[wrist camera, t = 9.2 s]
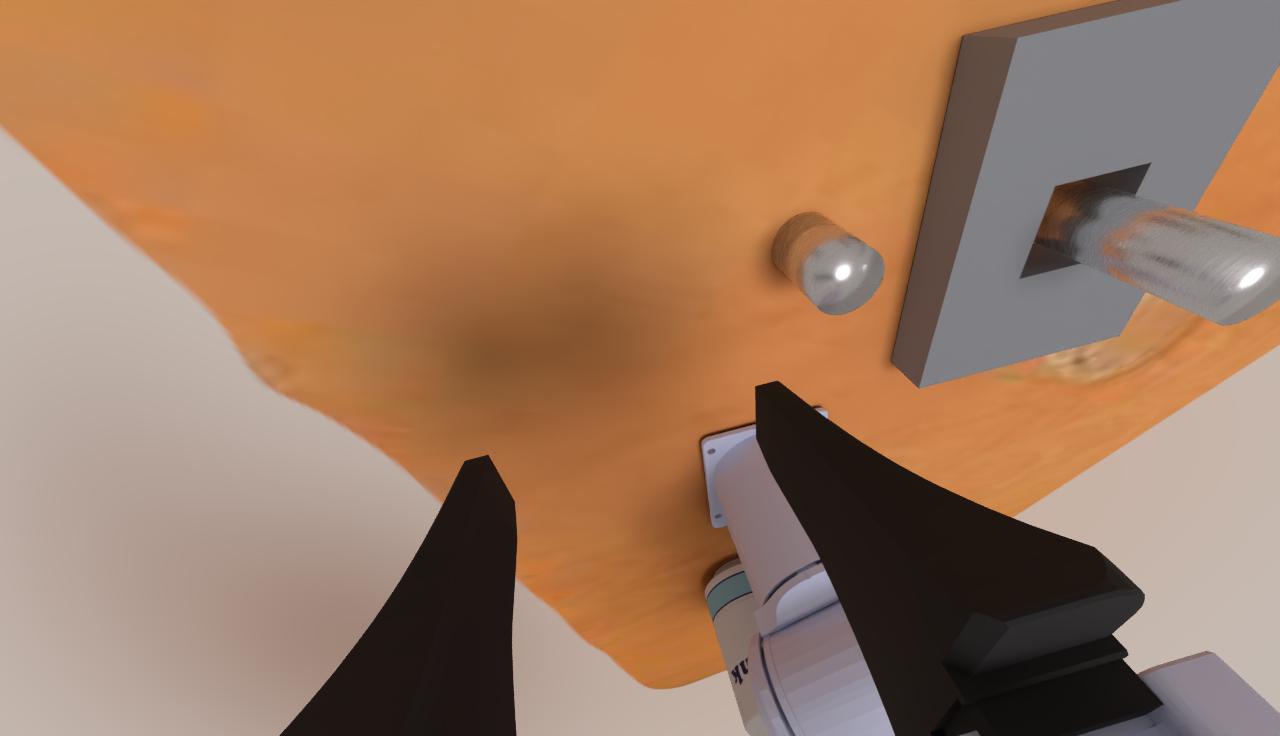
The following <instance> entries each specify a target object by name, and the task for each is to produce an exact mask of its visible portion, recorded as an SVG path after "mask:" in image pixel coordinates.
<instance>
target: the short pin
mask: <svg viewBox="0 0 1280 736" xmlns="http://www.w3.org/2000/svg"><path fill="white" fill-rule="evenodd" d="M772 258H773V261H774V263H775V265H776V266H777V267H778V268H779V269H780V270H781V271H782V272H783V273H784V274H785V275H786V276H787V277H788V278H789V279H790V280H791V281H792V282H793V283H794V284H795V285H796V286H797V287H798V288H799V290H800V291H801V292H802V293H803V294H804V295H805V296H806V297H807V298H808V299H809V300H810V301H811V302H812V303H813V304H814V305H815V306H816V307H817V308H818V309H819V310H821V311H822V312H824V313H826V314H830V315H841V314H846V313H849V312H851V311H854V310H855V309H857V308H859V307H860V306H862V305H863V304H865V303H866V302H867V301H868V300H869V299H870V298H871V297H872V296H873V295H874V293H875V292H876V291H877V289H878V288H879V286H880V284H881V282H882V279H883V275H884V261H883V258H882V256H881V255H880V254H879V253H878V252H877V251H876V250H874V249H873V248H872V247H870V246H869V245H867V244H866V243H864V242H863V241H861V240H860V239H858V238H857V237H855V236H854V235H852V234H851V233H849V232H848V231H846V230H845V229H843V228H842V227H840V226H839V225H837V224H836V223H834V222H833V221H831V220H830V219H828V218H827V217H826V216H824V215H822V214H820V213H817V212H806V213H802V214H799V215H797V216H795V217H793V218H791V219H790V220H789V221H787V222H786V223H785V224H784V225H783V226H782V227H781V229H780V230H779V231H778V233H777V235H776V237H775V239H774V242H773V246H772Z"/></svg>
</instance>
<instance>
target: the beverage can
mask: <svg viewBox="0 0 1280 736" xmlns="http://www.w3.org/2000/svg"><path fill="white" fill-rule="evenodd" d="M705 598H706V601H707V605H708V608H709V611H710V615H711V618H712V621H713V624H714V628H715V631H716V634H717V638H718V641H719V644H720V648H721V651H722V654H723V657H724V661H725V664H726V667H727V671H728V674H729V677H730V681H731V684H732V687H733V691H734V693H735V697H736V700H737V704H738V707H739V710H740V714H741V717H742V720H743V724H744V727H745V729H746V731H747V732H748V734H749V735H750V736H770V735H769V733H768V731H767V728H766V726H765V724H764V722H763V719H762V717H761V715H760V712H759V709H758V707H757V704H756V701H755V698H754V695H753V691H752V688H751V684H750V679H749V673H748V655H749V644H750V640H751V638H752V636H753V635H754V634H756V633H758V632H759V629H758V626H757V624H756V621H755V618H754V615H753V612H754V611H755V610H757V609H759V608H760V606H759V604H758V602H757V601H756V599H755V597H754V594H753V592H752V589H751V586H750V584H749V581H748V579H747V576H746V573H745V571H744V568H743V566H742V563H741V561H740V558H737V559H734V560H731V561H729V562H727V563H725V564H724V565H722V566H721V567H720V568H719V569H718V570H717V571H716V572H715V574H714V576H713V578H712V579H711V580H710V582H709V583H708V584H707V586H706V588H705Z"/></svg>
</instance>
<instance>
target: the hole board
mask: <svg viewBox="0 0 1280 736" xmlns="http://www.w3.org/2000/svg"><path fill="white" fill-rule="evenodd" d="M1279 65H1280V0H1117V1H1113V2H1108V3H1104V4H1099V5H1095V6H1091V7H1086V8H1082V9H1077V10H1073V11H1069V12H1064V13H1060V14H1055V15H1051V16H1047V17H1042V18H1038V19H1033V20H1029V21H1025V22H1020V23H1016V24H1012V25H1007V26H1003V27H998V28H994V29H990V30H985V31H981V32H976V33H972V34H968V35H963V40H962V45H961V49H960V54H959V58H958V63H957V67H956V72H955V76H954V81H953V85H952V90H951V94H950V99H949V103H948V108H947V112H946V117H945V121H944V126H943V130H942V135H941V139H940V144H939V148H938V153H937V157H936V162H935V166H934V171H933V175H932V180H931V184H930V189H929V194H928V198H927V203H926V207H925V212H924V216H923V221H922V225H921V230H920V234H919V239H918V243H917V248H916V252H915V257H914V261H913V266H912V270H911V275H910V279H909V284H908V288H907V293H906V297H905V302H904V306H903V311H902V315H901V320H900V324H899V329H898V334H897V338H896V343H895V347H894V352H893V356H892V361H891V362H892V363H893V364H894V365H895V366H896V367H897V368H898V369H899V370H900V371H901V372H902V373H903V374H904V375H905V376H906V377H907V378H908V379H909V380H910V381H911V382H913V383H914V384H915V385H916V386H917V387H918V388H923V387H927V386H931V385H934V384H938V383H942V382H946V381H950V380H953V379H957V378H961V377H965V376H969V375H972V374H976V373H980V372H984V371H988V370H992V369H995V368H999V367H1003V366H1007V365H1011V364H1014V363H1018V362H1022V361H1026V360H1030V359H1033V358H1037V357H1041V356H1045V355H1049V354H1052V353H1056V352H1060V351H1064V350H1068V349H1071V348H1075V347H1079V346H1083V345H1087V344H1091V343H1094V342H1098V341H1102V340H1106V339H1110V338H1113V337H1117V336H1120V334H1121V333H1122V331H1123V329H1124V328H1125V326H1126V324H1127V322H1128V321H1129V319H1130V317H1131V316H1132V314H1133V312H1134V311H1135V309H1136V307H1137V306H1138V304H1139V302H1140V300H1141V299H1142V297H1143V295H1144V294H1145V291H1143V290H1141V289H1139V288H1136V287H1134V286H1132V285H1130V284H1127V283H1125V282H1123V281H1121V280H1118V279H1116V278H1114V277H1112V276H1109V275H1107V274H1105V273H1103V272H1100V271H1098V270H1096V269H1094V268H1091V267H1089V266H1087V265H1085V264H1083V263H1080V262H1078V261H1076V260H1074V259H1071V258H1069V257H1067V256H1065V255H1062V254H1060V253H1058V252H1056V251H1053V250H1051V249H1049V248H1047V247H1044V246H1042V245H1040V244H1038V243H1036V244H1033V242H1034V240H1035V237H1036V234H1037V232H1038V229H1039V227H1040V224H1041V222H1042V219H1043V216H1044V214H1045V211H1046V209H1047V206H1048V203H1049V201H1050V198H1051V196H1052V193H1053V191H1054V188H1055V186H1058V185H1062V184H1066V183H1070V182H1074V181H1078V180H1082V179H1083V180H1087V181H1090V182H1093V183H1097V184H1100V185H1104V186H1107V187H1110V188H1114V189H1117V190H1121V191H1124V192H1127V193H1131V194H1134V195H1138V196H1141V197H1144V198H1148V199H1151V200H1155V201H1158V202H1161V203H1165V204H1168V205H1172V206H1175V207H1178V208H1182V209H1185V210H1189V211H1192V212H1193V211H1194V209H1195V207H1196V206H1197V204H1198V202H1199V200H1200V199H1201V197H1202V195H1203V194H1204V192H1205V190H1206V189H1207V187H1208V185H1209V184H1210V182H1211V180H1212V178H1213V177H1214V175H1215V173H1216V172H1217V170H1218V168H1219V167H1220V165H1221V163H1222V162H1223V160H1224V158H1225V156H1226V155H1227V153H1228V151H1229V150H1230V148H1231V146H1232V145H1233V143H1234V141H1235V139H1236V138H1237V136H1238V134H1239V133H1240V131H1241V129H1242V128H1243V126H1244V124H1245V123H1246V121H1247V119H1248V117H1249V116H1250V114H1251V112H1252V111H1253V109H1254V107H1255V106H1256V104H1257V102H1258V101H1259V99H1260V97H1261V95H1262V94H1263V92H1264V90H1265V89H1266V87H1267V85H1268V84H1269V82H1270V80H1271V79H1272V77H1273V75H1274V73H1275V72H1276V70H1277V68H1278V67H1279Z"/></svg>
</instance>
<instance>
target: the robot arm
mask: <svg viewBox="0 0 1280 736" xmlns="http://www.w3.org/2000/svg"><path fill="white" fill-rule="evenodd" d="M755 398H756V424H754V425H751V426H747V427H743V428H739V429H735V430H731V431H728V432H724V433H720V434H716V435H712V436H709V437H706V438H705V439H703V441H702V443H701V446H702V454H703V462H704V470H705V478H706V486H707V494H708V502H709V510H710V518H711V523H712V526H713V527H714V528H721V527H724V526H727V527H728V529H729V532H730V535H731V537H732V540H733V542H734V545H735V548H736V550H737V553H738V555H739V558H740V561H741V563H742V566H743V568H744V571H745V573H746V576H747V579H748V581H749V584H750V586H751V589H752V592H753V594H754V597H755V599H756V601H757V602H758V604H759V606H760V608H759V609H757V610H755V611H754V612H753V615H754V618H755V621H756V624H757V626H758V629H759V632H758V633H756V634H754V635H753V636H752V638H751V640H750V644H749V655H748V673H749V679H750V684H751V688H752V691H753V695H754V698H755V701H756V704H757V707H758V709H759V712H760V715H761V717H762V719H763V722H764V724H765V726H766V728H767V731H768V733H769V735H770V736H1280V713H1278V711H1276V710H1275V709H1274V708H1273V707H1272V706H1271V705H1270V704H1269V703H1268V702H1267V701H1266V700H1265V699H1264V698H1262V697H1261V696H1260V695H1259V694H1258V693H1257V692H1256V691H1255V690H1254V689H1253V688H1252V687H1251V686H1249V684H1247V683H1246V682H1245V681H1244V680H1243V679H1242V678H1241V677H1240V676H1239V675H1238V674H1237V673H1236V672H1235V671H1233V670H1232V669H1231V668H1230V667H1229V666H1228V665H1227V664H1226V663H1225V662H1224V661H1223V660H1222V659H1221V658H1219V657H1218V656H1217V655H1216V654H1215V653H1212V652H1209V651H1205V652H1201V653H1198V654H1195V655H1192V656H1188V657H1184V658H1181V659H1178V660H1174V661H1171V662H1168V663H1164V664H1161V665H1158V666H1155V667H1152V668H1149V669H1147V670H1145V671H1143V672H1140V673H1139V674H1136V673H1135V672H1134V671H1133V670H1132V669H1131V668H1130V667H1129V666H1128V665H1127V664H1126V662H1124V660H1123V658H1125V657H1127V656H1128V652H1127V650H1126V649H1125V648H1124V647H1123V645H1122V644H1120V642H1119V641H1118V640H1117V639H1116V638H1115V637H1114V636H1113V635H1112V633H1114V632H1115V631H1116V630H1117V629H1118V628H1119V627H1120V626H1122V625H1123V624H1124V623H1125V622H1126V621H1127V620H1128V619H1130V618H1131V617H1132V616H1133V615H1134V614H1135V613H1136V612H1137V611H1138V610H1139V609H1140V608H1141V607H1142V605H1143V603H1144V599H1145V597H1144V596H1145V594H1144V593H1143V592H1142V591H1141V589H1140V588H1138V587H1137V586H1136V585H1135V584H1134V583H1133V582H1132V581H1131V580H1130V579H1129V578H1128V577H1127V576H1126V575H1125V574H1124V573H1123V572H1122V571H1121V570H1120V569H1118V568H1117V567H1116V566H1115V565H1114V564H1113V563H1112V562H1111V561H1110V560H1109V559H1107V558H1106V557H1105V556H1104V555H1103V554H1102V553H1101V552H1099V551H1098V550H1097V549H1096V548H1095V547H1092V546H1089V545H1087V544H1084V543H1081V542H1078V541H1075V540H1072V539H1069V538H1066V537H1063V536H1060V535H1058V534H1055V533H1052V532H1049V531H1046V530H1043V529H1040V528H1037V527H1035V526H1032V525H1029V524H1026V523H1024V522H1021V521H1019V520H1016V519H1014V518H1011V517H1009V516H1006V515H1004V514H1001V513H999V512H996V511H994V510H991V509H989V508H987V507H984V506H982V505H980V504H977V503H975V502H973V501H971V500H968V499H966V498H964V497H962V496H960V495H958V494H955V493H953V492H951V491H949V490H947V489H944V488H942V487H940V486H938V485H936V484H934V483H932V482H930V481H928V480H926V479H924V478H922V477H920V476H918V475H916V474H915V473H913V472H911V471H909V470H907V469H905V468H904V467H902V466H900V465H898V464H896V463H895V462H893V461H891V460H890V459H888V458H886V457H885V456H883V455H881V454H880V453H878V452H876V451H875V450H873V449H872V448H870V447H868V446H867V445H865V444H864V443H862V442H861V441H859V440H858V439H856V438H855V437H853V436H852V435H850V434H849V433H847V432H846V431H844V430H843V429H842V428H840V427H839V426H837V425H836V424H834V423H833V422H832V421H830V420H829V419H828V412H827V411H826V410H825V409H824V408H822V407H821V408H816V409H814V408H813V407H811V406H810V405H809V404H807V403H806V402H805V401H803V400H802V399H801V398H800V397H798V396H797V395H796V394H794V393H793V392H792V391H791V390H789V389H788V388H787V387H786V386H784V385H783V384H782V383H780V382H779V381H774V382H770V383H766V384H762V385H758V386H755ZM516 554H517V525H516V511H515V501H514V499H513V498H512V496H511V494H510V492H509V491H508V489H507V487H506V485H505V483H504V482H503V480H502V478H501V476H500V475H499V473H498V471H497V469H496V468H495V466H494V464H493V462H492V460H491V459H490V457H489V455H486V456H482V457H478V458H474V459H470V460H466V461H465V462H464V463H463V465H462V467H461V469H460V471H459V473H458V475H457V477H456V479H455V481H454V483H453V485H452V487H451V489H450V491H449V493H448V495H447V497H446V499H445V501H444V503H443V505H442V507H441V509H440V511H439V513H438V515H437V517H436V519H435V521H434V523H433V525H432V526H431V528H430V530H429V532H428V534H427V536H426V537H425V539H424V541H423V543H422V545H421V546H420V548H419V550H418V551H417V553H416V555H415V557H414V559H413V560H412V562H411V563H410V565H409V567H408V568H407V570H406V572H405V573H404V575H403V577H402V578H401V580H400V582H399V583H398V585H397V586H396V588H395V589H394V591H393V593H392V594H391V596H390V597H389V599H388V600H387V602H386V603H385V605H384V606H383V607H382V609H381V610H380V612H379V613H378V615H377V616H376V618H375V619H374V621H373V622H372V623H371V625H370V626H369V627H368V629H367V630H366V631H365V633H364V634H363V635H362V637H361V638H360V639H359V641H358V643H357V644H356V645H355V646H354V648H353V649H352V650H351V651H350V653H349V654H348V655H347V656H346V658H345V659H344V660H343V662H342V663H341V664H340V665H339V667H338V668H337V669H336V671H335V672H334V673H333V674H332V676H331V677H330V678H329V679H328V680H327V682H326V683H325V684H324V685H323V686H322V688H321V689H320V690H319V691H318V692H317V693H316V695H315V696H314V697H313V698H312V699H311V701H310V702H309V703H308V704H307V705H306V706H305V708H304V709H303V710H302V711H301V712H300V713H299V714H298V715H297V717H296V718H295V719H294V720H293V721H292V722H291V724H290V725H289V726H288V727H287V728H286V729H285V730H284V731H283V732H282V734H280V736H516V722H515V705H514V686H513V660H512V621H513V605H514V588H515V572H516Z"/></svg>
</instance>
